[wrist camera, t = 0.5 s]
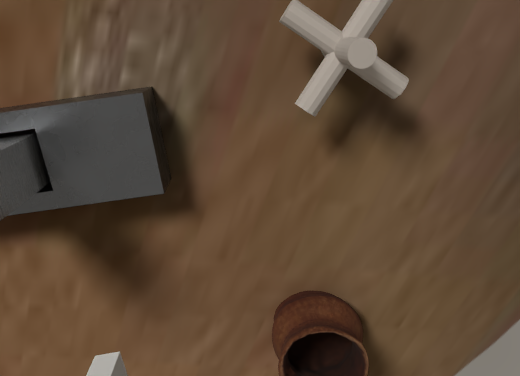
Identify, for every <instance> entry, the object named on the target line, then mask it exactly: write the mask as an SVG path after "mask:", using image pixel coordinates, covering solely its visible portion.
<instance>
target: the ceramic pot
mask: <svg viewBox="0 0 520 376" xmlns="http://www.w3.org/2000/svg"><path fill="white" fill-rule="evenodd" d="M362 341H363V328H362V323H361V321H360V318H359V316H358V314H357V313H356V312H355V311H354V310H353V309H352V308H351V306H350V305H349V304H347V303H346V302H345V301H343V300H342V299H340V298H338V297H336V296H334V295H332V294H330V293H326V292H321V291H303V292H299V293H297V294H294V295H292V296H290V297H289V298H287V299H286V300H284V301H283V302H282V303H281V304H280V305H279V306H278V308H277V310H276V312H275V315H274V324H273V329H272V342H273V347H274V350H275V353H276V355H277V357H278V359H279V364H278V370H279V376H368V370H369V361H368V355H367V352H366V349H365V347H364V346H363V344H362Z"/></svg>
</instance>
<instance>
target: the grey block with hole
mask: <svg viewBox="0 0 520 376" xmlns="http://www.w3.org/2000/svg"><path fill="white" fill-rule="evenodd" d="M28 129H35V131H36V134H37V137H38V141H39V144H40V148H41V151H42V154H43V158H44V161H45V164H46V168H47V171H48V175H49V178H50V181H51V182H49V183H48V184H47V185H45V186H44V187H43V188H42V189H40V190H39V191H38V192H37V193H35V194H34V195H33V196H31V197H30V198H29V199H28V200H26V201H25V202H24V203H22V204H21V205H20V206H19V207H17V208H16V209H15V210H14V211H12V212H11V213H10V214H8V215H16V214H23V213H30V212H37V211H44V210H51V209H58V208H65V207H72V206H79V205H86V204H93V203H101V202H108V201H115V200H122V199H129V198H136V197H143V196H150V195H157V194H164V193H165V190H166V188H167V186H168V184H169V182H170V180H171V175H170V170H169V165H168V161H167V156H166V151H165V146H164V141H163V136H162V132H161V127H160V122H159V117H158V112H157V108H156V103H155V98H154V93H153V88H152V87H146V88H139V89H132V90H125V91H118V92H111V93H104V94H97V95H90V96H83V97H76V98H69V99H62V100H55V101H48V102H41V103H34V104H27V105H20V106H13V107H6V108H0V133H7V132H14V131H21V130H28ZM8 215H7V216H8Z"/></svg>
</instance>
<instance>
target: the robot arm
mask: <svg viewBox="0 0 520 376" xmlns="http://www.w3.org/2000/svg"><path fill="white" fill-rule="evenodd" d="M86 376H128V375H127V372H126V369H125V366H124V363H123V360H122V357H121V354H120V352H115V353H109V354H103V355H97V356H95V357H94V360H93V362H92V364H91V366H90V369H89V371H88V373H87V375H86Z"/></svg>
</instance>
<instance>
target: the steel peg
mask: <svg viewBox="0 0 520 376" xmlns="http://www.w3.org/2000/svg"><path fill="white" fill-rule="evenodd" d="M49 182H51V181H50V178H49V175H48V171H47V168H46V164H45V161H44V158H43V154H42V151H41V148H40V144H39V141H38V137H37V134H36V131H35V129H28V130H21V131H14V132H7V133H1V134H0V221H1V220H2V219H3V218H5V217H6V216H7V215H8V214H10V213H11V212H12V211H14V210H15V209H16V208H17V207H19V206H20V205H21V204H22V203H24V202H25V201H26V200H28V199H29V198H30V197H31V196H33V195H34V194H35V193H37V192H38V191H39V190H40V189H42V188H43V187H44V186H45V185H47V184H48V183H49Z"/></svg>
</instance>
